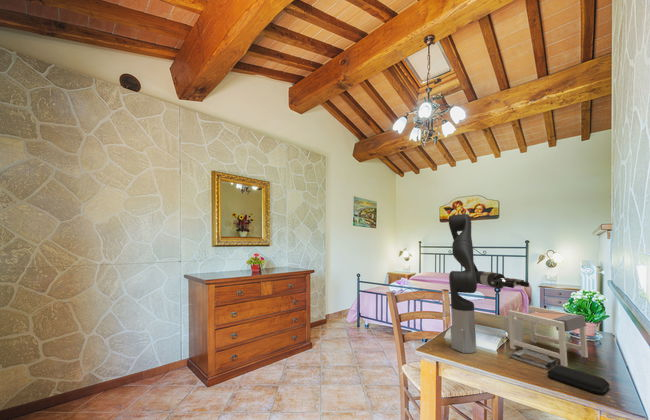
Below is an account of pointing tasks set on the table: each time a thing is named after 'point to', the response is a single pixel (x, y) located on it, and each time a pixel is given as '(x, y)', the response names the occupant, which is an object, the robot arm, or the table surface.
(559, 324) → the trapdoor stand
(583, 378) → the carrying case or bag
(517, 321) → the plain beige rectangular block
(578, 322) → the trapdoor
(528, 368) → the table surface
